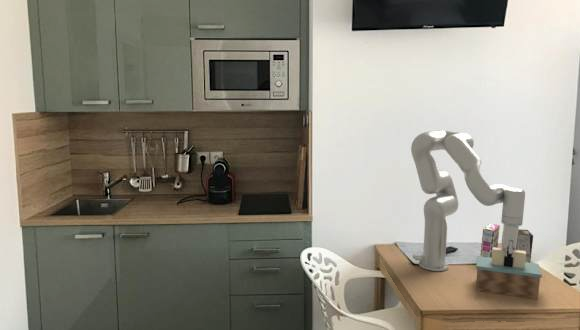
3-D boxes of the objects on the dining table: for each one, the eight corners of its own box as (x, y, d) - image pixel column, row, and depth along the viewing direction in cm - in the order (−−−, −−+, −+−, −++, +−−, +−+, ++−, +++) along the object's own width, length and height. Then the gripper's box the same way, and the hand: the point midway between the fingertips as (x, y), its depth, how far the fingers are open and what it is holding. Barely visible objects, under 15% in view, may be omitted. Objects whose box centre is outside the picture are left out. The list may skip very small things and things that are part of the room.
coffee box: (530, 271, 218) (533, 235, 216) (514, 270, 220) (517, 234, 217) (525, 263, 227) (528, 229, 224) (509, 262, 229) (513, 228, 226)
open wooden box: (476, 290, 198) (477, 268, 197) (476, 279, 209) (478, 259, 207) (537, 299, 191) (540, 277, 189) (534, 288, 201) (537, 266, 199)
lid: (476, 271, 197) (477, 251, 195) (476, 260, 208) (478, 242, 206) (541, 280, 189) (543, 259, 187) (537, 268, 200) (540, 249, 198)
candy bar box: (490, 266, 224) (493, 230, 221) (479, 263, 227) (482, 228, 224) (497, 258, 233) (500, 224, 230) (486, 256, 236) (489, 222, 233)
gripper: (500, 213, 203) (496, 256, 207) (502, 224, 188) (498, 270, 192) (521, 215, 201) (516, 259, 204) (524, 226, 186) (519, 273, 189)
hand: (507, 264), depth 198 cm, fingers closed on lid, 3 cm apart
